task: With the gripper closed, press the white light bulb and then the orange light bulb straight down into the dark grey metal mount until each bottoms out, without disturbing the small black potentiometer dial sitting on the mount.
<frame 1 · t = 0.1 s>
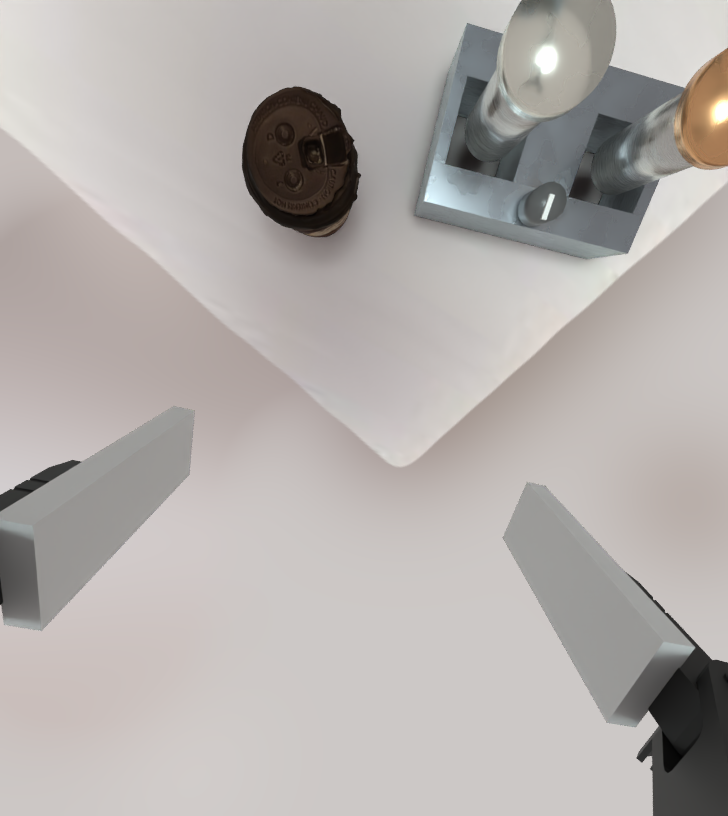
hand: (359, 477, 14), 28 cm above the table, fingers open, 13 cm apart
orange light bulb: (669, 139, 24), point 11 cm above the table, slide at 0.0 cm
mount: (522, 172, 34), on the table
potentiometer: (534, 208, 30), point 6 cm above the table, touching mount
white light bulb: (518, 96, 23), point 11 cm above the table, slide at 0.0 cm
coffee cup: (321, 203, 35), on the table
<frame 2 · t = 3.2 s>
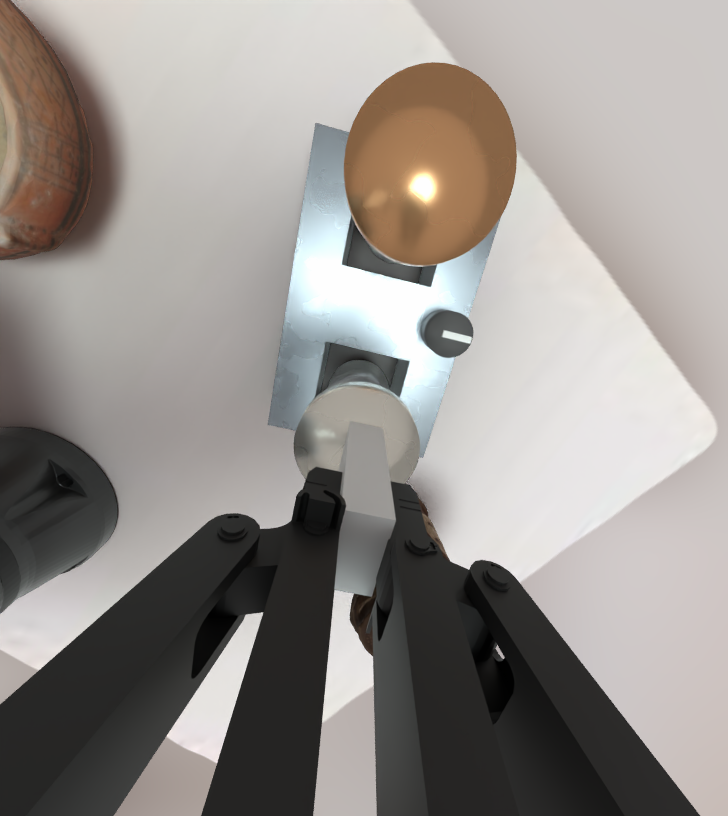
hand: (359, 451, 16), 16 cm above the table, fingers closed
orange light bulb: (409, 206, 17), point 11 cm above the table, slide at 0.0 cm
mount: (374, 310, 29), on the table
bowl: (19, 149, 25), on the table
potentiometer: (441, 330, 24), point 6 cm above the table, touching mount
white light bulb: (358, 412, 21), point 10 cm above the table, slide at 0.9 cm, touching gripper
coffee cup: (396, 513, 36), on the table
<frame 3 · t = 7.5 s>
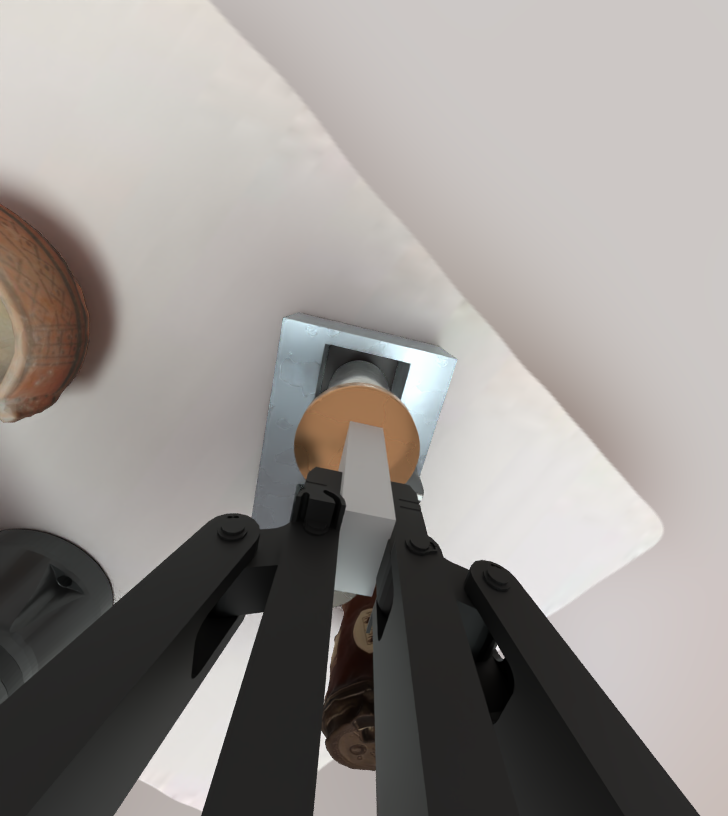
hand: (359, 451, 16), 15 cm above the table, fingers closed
orange light bulb: (358, 412, 21), point 10 cm above the table, slide at 1.5 cm, touching gripper
mount: (345, 432, 32), on the table
bowl: (23, 303, 28), on the table
potentiometer: (399, 474, 26), point 6 cm above the table, touching mount
white light bulb: (327, 525, 28), point 6 cm above the table, slide at 5.0 cm
coffee cup: (370, 599, 38), on the table
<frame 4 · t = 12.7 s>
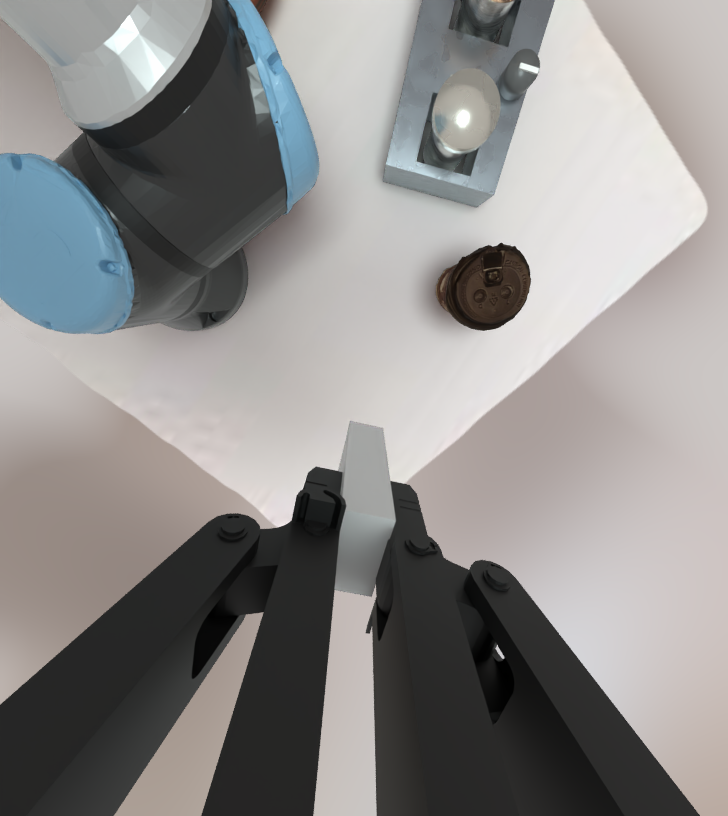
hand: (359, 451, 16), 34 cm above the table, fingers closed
mount: (454, 101, 40), on the table
potentiometer: (513, 83, 34), point 6 cm above the table, touching mount
white light bulb: (453, 134, 35), point 6 cm above the table, slide at 5.0 cm
coffee cup: (459, 288, 46), on the table
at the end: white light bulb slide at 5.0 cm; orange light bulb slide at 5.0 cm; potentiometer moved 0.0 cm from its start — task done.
